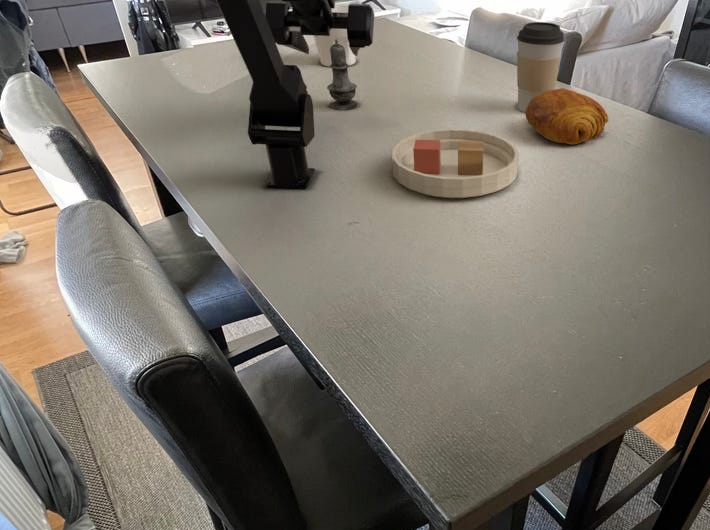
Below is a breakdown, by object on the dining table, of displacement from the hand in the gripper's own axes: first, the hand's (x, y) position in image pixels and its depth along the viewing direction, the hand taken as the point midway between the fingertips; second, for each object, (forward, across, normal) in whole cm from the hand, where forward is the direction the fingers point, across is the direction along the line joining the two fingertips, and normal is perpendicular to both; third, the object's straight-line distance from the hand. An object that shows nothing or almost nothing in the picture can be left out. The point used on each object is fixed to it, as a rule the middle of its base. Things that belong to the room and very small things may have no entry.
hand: (332, 52), depth 109 cm
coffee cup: (+13, -39, +3) cm, 41 cm away
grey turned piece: (+10, 0, +5) cm, 12 cm away
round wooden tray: (-12, -26, +26) cm, 39 cm away
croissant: (+4, -45, +12) cm, 46 cm away
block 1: (-12, -21, +26) cm, 36 cm away
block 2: (-12, -28, +26) cm, 40 cm away
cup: (+32, +9, -17) cm, 37 cm away
